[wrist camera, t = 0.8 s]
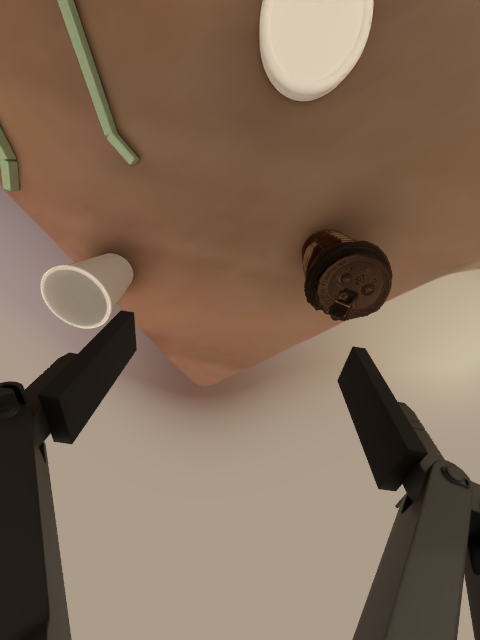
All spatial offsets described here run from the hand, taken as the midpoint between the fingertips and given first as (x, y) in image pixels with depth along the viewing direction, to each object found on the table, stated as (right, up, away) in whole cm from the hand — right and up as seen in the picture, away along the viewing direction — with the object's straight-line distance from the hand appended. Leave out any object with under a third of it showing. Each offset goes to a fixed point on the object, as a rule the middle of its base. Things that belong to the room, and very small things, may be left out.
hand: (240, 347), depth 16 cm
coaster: (+7, +30, +10) cm, 32 cm away
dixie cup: (-19, +9, +24) cm, 32 cm away
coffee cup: (+12, +11, +21) cm, 26 cm away
